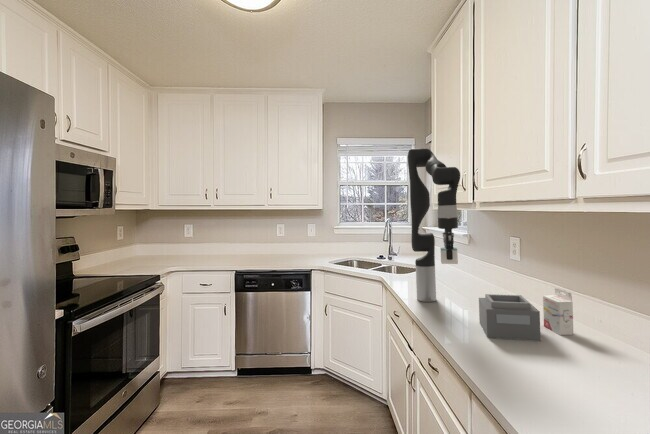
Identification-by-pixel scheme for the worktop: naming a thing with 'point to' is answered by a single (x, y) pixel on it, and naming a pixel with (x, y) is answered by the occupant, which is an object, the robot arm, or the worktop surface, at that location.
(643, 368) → the worktop surface
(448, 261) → the block
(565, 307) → the ink cartridge box
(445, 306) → the worktop surface
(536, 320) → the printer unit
